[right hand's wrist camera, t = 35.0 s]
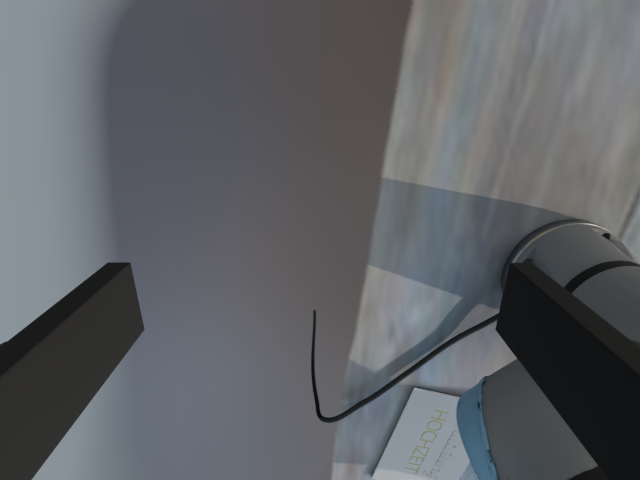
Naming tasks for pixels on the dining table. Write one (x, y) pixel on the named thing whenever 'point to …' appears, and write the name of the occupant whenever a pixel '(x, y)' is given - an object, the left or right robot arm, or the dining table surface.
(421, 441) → the invitation card
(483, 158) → the dining table surface
